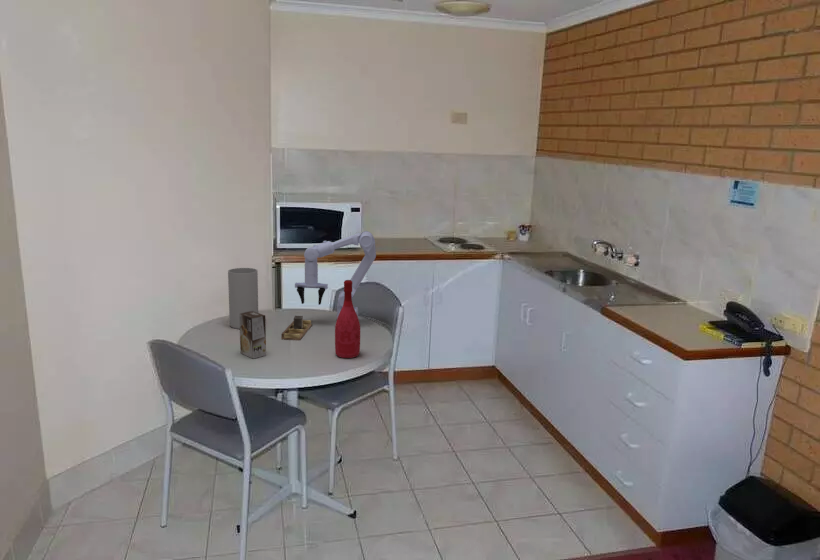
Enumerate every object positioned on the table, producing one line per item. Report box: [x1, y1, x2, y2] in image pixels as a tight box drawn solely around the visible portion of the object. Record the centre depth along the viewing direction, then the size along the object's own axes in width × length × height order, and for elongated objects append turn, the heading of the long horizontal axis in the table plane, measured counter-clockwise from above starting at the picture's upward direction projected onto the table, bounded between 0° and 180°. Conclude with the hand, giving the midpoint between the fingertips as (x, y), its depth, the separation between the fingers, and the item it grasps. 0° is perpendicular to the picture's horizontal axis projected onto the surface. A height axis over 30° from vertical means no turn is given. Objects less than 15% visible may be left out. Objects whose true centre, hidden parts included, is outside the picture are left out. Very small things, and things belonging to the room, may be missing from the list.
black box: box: [293, 315, 304, 329], centre depth 272 cm, size 4×5×6 cm
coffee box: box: [239, 311, 267, 359], centre depth 242 cm, size 9×6×16 cm
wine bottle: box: [334, 279, 361, 359], centre depth 243 cm, size 10×10×30 cm
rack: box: [280, 319, 313, 341], centre depth 273 cm, size 8×22×2 cm, turn 176°
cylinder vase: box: [227, 267, 259, 330], centre depth 278 cm, size 12×12×25 cm
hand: (311, 303), depth 283 cm, fingers open, 7 cm apart
